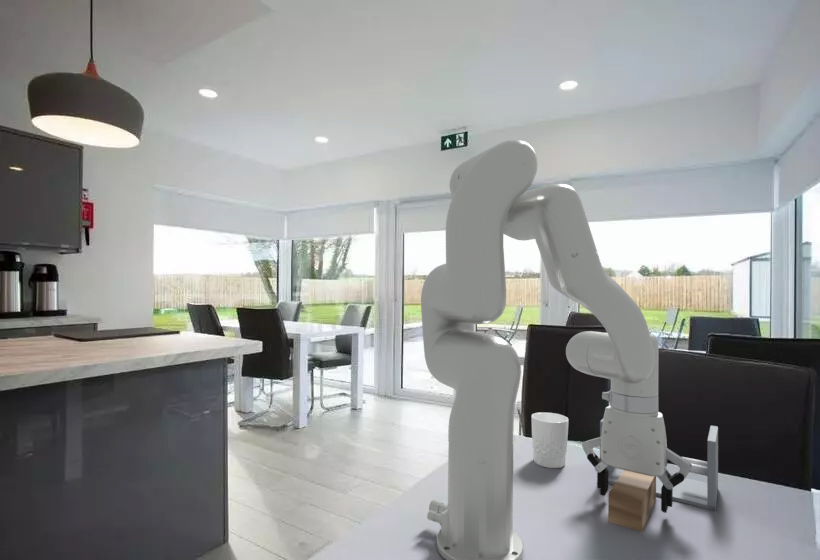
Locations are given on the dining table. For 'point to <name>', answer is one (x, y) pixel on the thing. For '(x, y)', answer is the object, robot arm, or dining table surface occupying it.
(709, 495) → the peg frame
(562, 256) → the robot arm
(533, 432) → the white cup
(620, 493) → the shelf board
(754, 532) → the dining table surface
